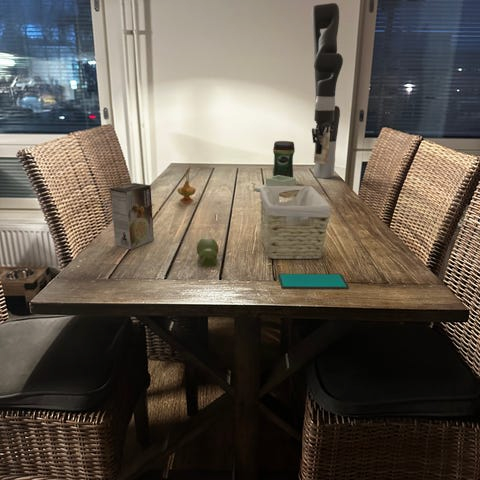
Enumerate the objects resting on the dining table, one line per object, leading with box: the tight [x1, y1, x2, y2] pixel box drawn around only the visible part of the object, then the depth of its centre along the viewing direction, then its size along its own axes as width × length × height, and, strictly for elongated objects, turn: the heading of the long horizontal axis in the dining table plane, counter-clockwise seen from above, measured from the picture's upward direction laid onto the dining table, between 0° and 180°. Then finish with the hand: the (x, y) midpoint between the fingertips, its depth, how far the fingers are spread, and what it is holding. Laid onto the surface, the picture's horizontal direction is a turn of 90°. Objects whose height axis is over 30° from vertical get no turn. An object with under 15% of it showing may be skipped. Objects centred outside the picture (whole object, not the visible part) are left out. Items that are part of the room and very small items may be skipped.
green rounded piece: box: [196, 237, 219, 268], centre depth 111 cm, size 6×5×10 cm
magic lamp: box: [177, 168, 196, 203], centre depth 165 cm, size 7×18×11 cm, turn 0°
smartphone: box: [278, 273, 350, 290], centre depth 101 cm, size 7×1×15 cm
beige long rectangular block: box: [313, 132, 330, 164], centre depth 176 cm, size 4×4×14 cm
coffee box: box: [109, 182, 155, 250], centre depth 120 cm, size 9×6×16 cm
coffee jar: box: [271, 140, 296, 178], centre depth 198 cm, size 10×8×19 cm
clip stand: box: [253, 175, 297, 198], centre depth 185 cm, size 16×16×5 cm
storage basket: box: [259, 185, 332, 260], centre depth 121 cm, size 24×16×15 cm
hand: (321, 152), depth 177 cm, fingers closed on beige long rectangular block, 4 cm apart
